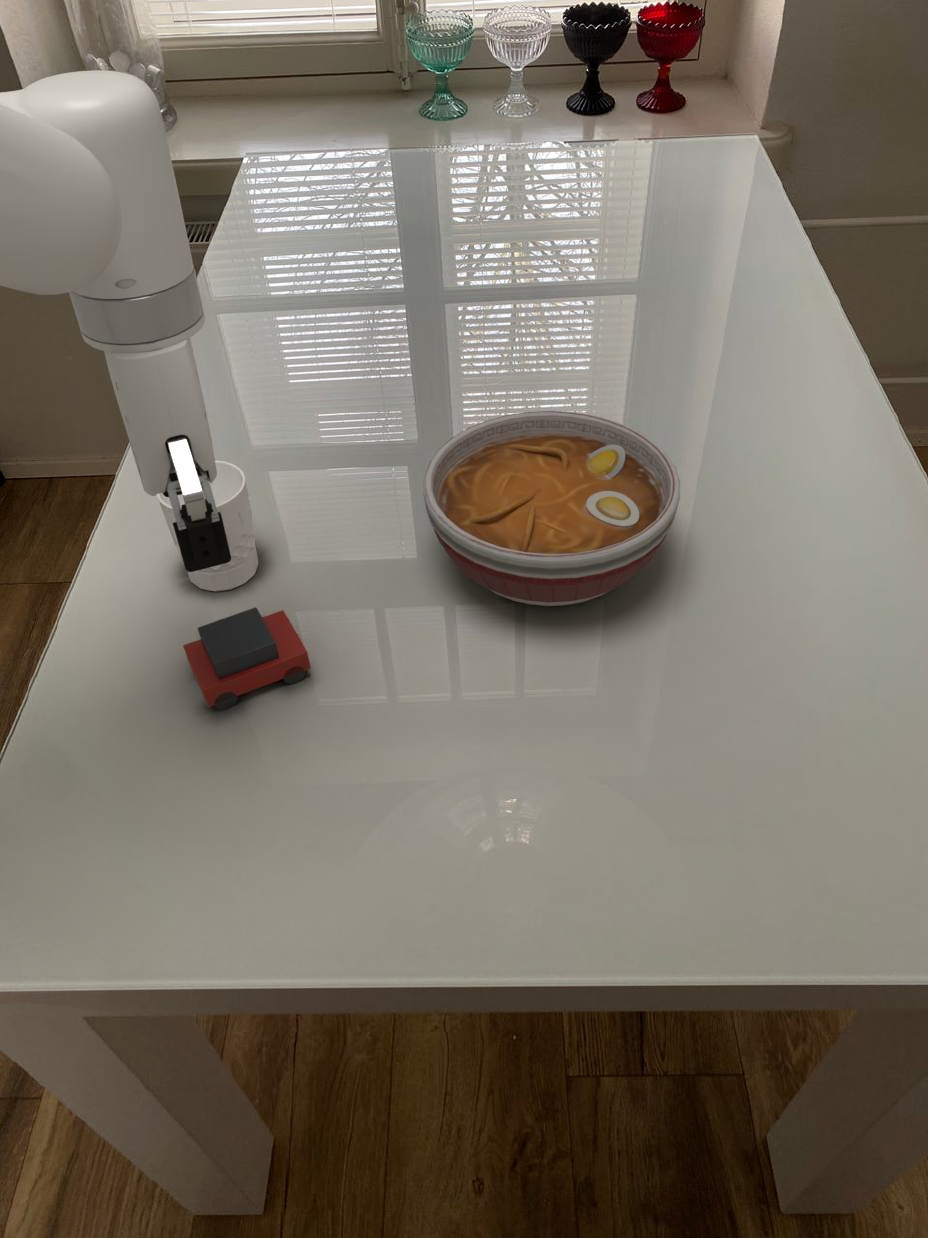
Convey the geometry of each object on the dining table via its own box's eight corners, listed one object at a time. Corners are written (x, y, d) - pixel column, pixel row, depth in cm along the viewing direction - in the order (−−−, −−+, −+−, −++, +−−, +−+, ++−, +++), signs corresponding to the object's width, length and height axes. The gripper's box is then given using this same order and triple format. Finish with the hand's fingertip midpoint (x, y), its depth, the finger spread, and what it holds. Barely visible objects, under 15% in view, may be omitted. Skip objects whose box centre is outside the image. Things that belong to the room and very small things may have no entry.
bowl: (698, 525, 95) (712, 439, 89) (620, 678, 81) (630, 589, 74) (490, 472, 103) (489, 390, 96) (385, 602, 89) (375, 516, 82)
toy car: (197, 675, 76) (177, 629, 80) (210, 715, 79) (190, 669, 83) (304, 636, 79) (279, 594, 83) (312, 676, 82) (288, 634, 86)
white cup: (272, 583, 91) (253, 497, 84) (190, 605, 89) (163, 519, 82) (254, 535, 97) (235, 451, 90) (176, 556, 95) (150, 471, 88)
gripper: (63, 262, 64) (128, 477, 75) (90, 378, 52) (163, 612, 64) (176, 244, 66) (223, 456, 77) (227, 351, 54) (274, 583, 66)
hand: (196, 526), depth 70 cm, fingers open, 9 cm apart
